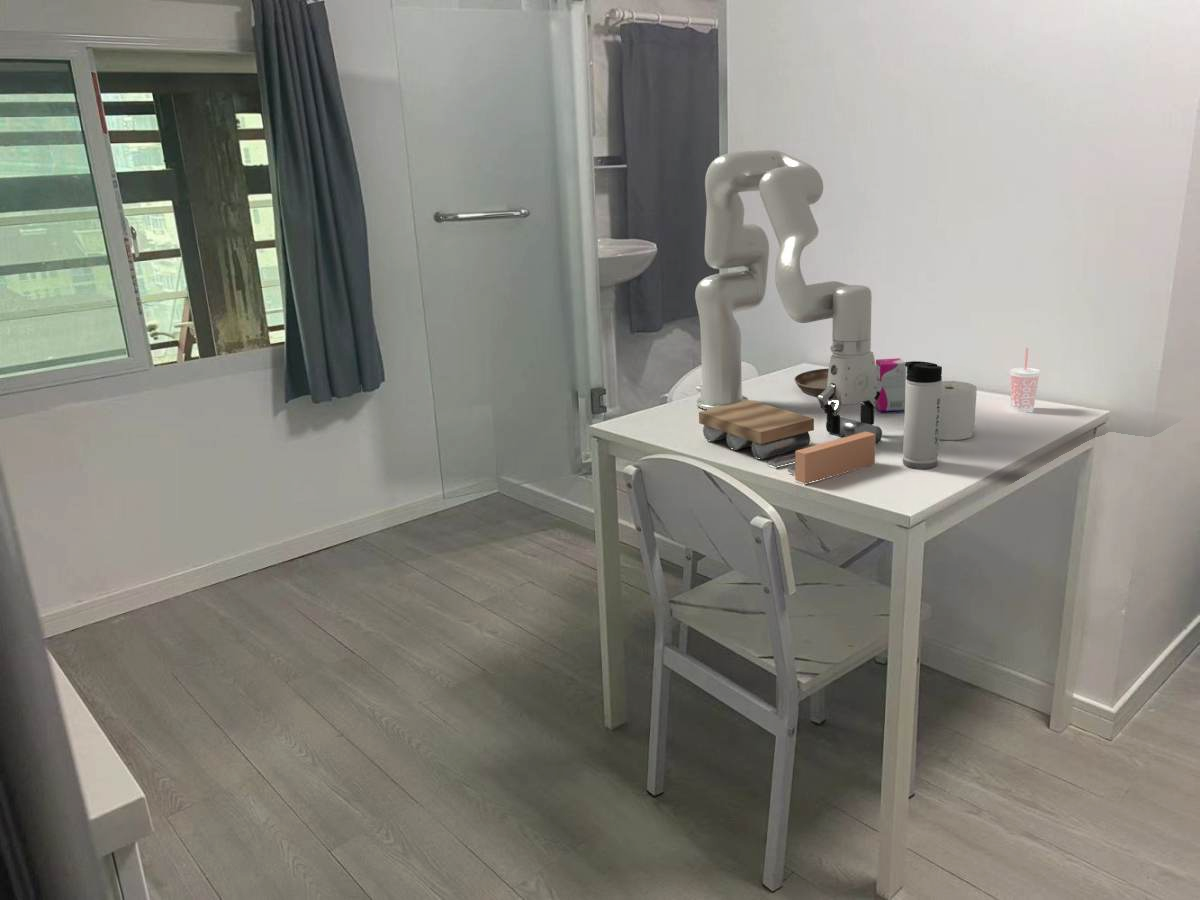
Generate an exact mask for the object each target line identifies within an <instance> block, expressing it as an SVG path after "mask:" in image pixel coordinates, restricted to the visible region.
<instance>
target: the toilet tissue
mask: <svg viewBox="0 0 1200 900" xmlns="http://www.w3.org/2000/svg"><path fill="white" fill-rule="evenodd" d="M941 383H942V386H941V405H940V424H939V441H940V440H944V441H958V440H966V439H969V438H972V437H973V436H974V434H975V422H976V421H975V420H976V406H977V405H976V404H977V391H978V390H977V388H978V387H977V386H976V385H974V384H973V383H969V382H966V381H965V382H964V381H957V380H942V382H941Z"/></svg>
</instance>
